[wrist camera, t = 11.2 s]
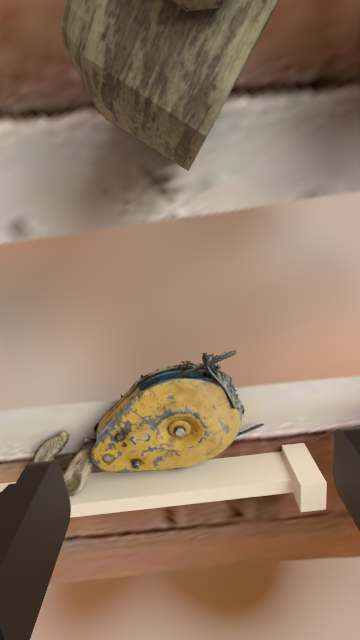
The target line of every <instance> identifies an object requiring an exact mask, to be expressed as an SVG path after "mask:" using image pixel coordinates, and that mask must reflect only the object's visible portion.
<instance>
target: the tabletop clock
mask: <svg viewBox="0 0 360 640" xmlns="http://www.w3.org/2000/svg"><path fill="white" fill-rule="evenodd" d="M278 2H279V0H66V2H65V7H64V12H63V17H62V22H61V29H62V36H63V43H64V46H65V49H66V52H67V55H68V58H69V60H70V61H71V63H72V65H73V67H74V69H75V71H76V72H77V74H78V76H79V78H80V80H81V82H82V83H83V85H84V87H85V89H86V91H87V92H88V94H89V96H90V98H91V100H92V101H93V103H94V105H95V107H96V109H97V110H98V112H99V113H100V114H101V115H103V116H104V117H105V118H106V119H107V120H108V121H110V122H112V123H113V124H115V125H116V126H118V127H120V128H121V129H123V130H124V131H126V132H127V133H129V134H131V135H132V136H134V137H135V138H137V139H139V140H140V141H142V142H143V143H145V144H146V145H148V146H150V147H151V148H153V149H154V150H156V151H158V152H159V153H161V154H162V155H164V156H166V157H167V158H169V159H170V160H172V161H173V162H175V163H177V164H178V165H180V166H181V167H183V168H185V169H186V170H189V169H190V167H191V165H192V163H193V161H194V159H195V158H196V156H197V154H198V152H199V150H200V148H201V146H202V145H203V143H204V141H205V139H206V137H207V135H208V133H209V131H210V130H211V128H212V126H213V124H214V122H215V120H216V118H217V116H218V115H219V113H220V111H221V109H222V107H223V105H224V103H225V101H226V100H227V98H228V96H229V94H230V92H231V90H232V88H233V86H234V85H235V83H236V81H237V79H238V77H239V75H240V73H241V71H242V70H243V68H244V66H245V64H246V62H247V60H248V58H249V56H250V55H251V53H252V51H253V49H254V47H255V45H256V43H257V41H258V39H259V38H260V36H261V34H262V32H263V30H264V28H265V26H266V24H267V23H268V21H269V19H270V17H271V15H272V13H273V11H274V9H275V7H276V5H277V4H278Z"/></svg>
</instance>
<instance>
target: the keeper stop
mask: <svg viewBox="0 0 360 640" xmlns="http://www.w3.org/2000/svg"><path fill="white" fill-rule="evenodd" d="M15 483H16V482H8V483H0V492H1V491H3V490H4V489H5V488H6V487H7V486H8V485H9V484H15ZM326 490H327V483H326V481H325V479H324V477H323V476H322V474H321V472H320V470H319V469H318V467H317V465H316V463H315V462H314V460H313V458H312V457H311V455H310V453H309V451H308V450H307V448H306V446H305V444H304V443H298V444H289V445H282V451H281V452H272V453H263V454H255V455H246V456H237V457H228V458H219V459H211V460H207V461H204V462H202V463H199V464H196V465H193V466H190V467H188V468H185V469H176V470H160V471H144V472H132V473H115V472H106V471H105V472H96V473H91V474H90V477H89V479H88V481H87V483H86V485H85V486H84V488H83V489H82V490H81V491H80V492H78V493H77V494H75V495H73V496H70V497H69V498H70V503H71V515H70V518H71V517H80V516H89V515H98V514H106V513H115V512H124V511H133V510H142V509H151V508H160V507H168V506H177V505H186V504H195V503H204V502H213V501H222V500H231V499H239V498H248V497H257V496H266V495H275V494H284V493H293V495H294V498H295V500H296V502H297V504H298V507H299V509H300V511H301V512H307V511H316V510H325V509H326Z"/></svg>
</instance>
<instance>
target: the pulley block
mask: <svg viewBox="0 0 360 640" xmlns="http://www.w3.org/2000/svg"><path fill="white" fill-rule="evenodd" d="M235 354H236V350H234V351H231V352H224V353H222V354H221V355H220V356H218V355H216V356H215V357H213V354H212V355H207V353H203V356H202V359H203V364H196V365H195V364H193V363H190V361H186V362H184V361H182V363H184V364H182V365H181V364H179V365H175V366H172V367H167V368H165V369H162V370H159V371H158V369H157V371H155V372H152V373H150V374H147V375H145V376H143V375H141V378H140V379H139V380H137V381H136V382H135V384H134V385H133V386H132V388H131V389H130V390H129V391H128V392H127V393H126V394H125V395H124V396H122V395H121V399H120V400H119V401H118V402H117V403H116V404H115V405H114V406H113V407H112V408H111V409H110V410H109V411H108V412H107V413H106V414H105V415H104V416H103V417H102V418H101V420H100V422H99V423H98V424H96V426H95V427H94V429H95V431H96V439H92V438H89V437H88V438H85V439H84V440H83V444H82V447H81V448H80V449H79V451H78V452H77V454H76V455H75V456H74V457H73V458H72V460H71V461H70V462H69V463H68V465H67V468H66V470H65V471H64V470H61V471H62V474H63V478H64V481H65V484H66V488H67V491H68V495H69V497H70V496H73V495H75V494H77V493H78V492H80V491H81V490H82V489H83V488H84V486H85V485H86V483H87V481H88V479H89V477H90V474H91V471H92V468H93V466H94V464H95V465H96V466H97V467H98V468H99V469H101V470H103V471H106V472H115V473H132V472H144V471H160V470H176V469H185V468H188V467H190V466H193V465H196V464H199V463H202V462H204V461H207V460H209V459H211V458H213V457H215V456H217V455H218V454H219V453H221V452H222V451H224V450H225V449H226V448H227V447H228V446H229V445H230V444H231V443H232V442H233V440H234V439H235V438H236V437H237V436H239V435H242V434H245V433H247V432H249V431H252V430H254V429H257V428H259V427H261V426H263V425H264V424H259V425H256V426H254V427H251V428H249V429H247V430H245V431H242V432H240V433H239V431H240V428H241V421H242V413H243V414H244V407H243V405H241V401H240V400H239V399H238V394H236V393H235V391H236V390H235V389H234V385H233V382H232V378H231V377H230V376H228V375H226V374H225V373H224V372H221V371H220V370H219V368H221V367H220V365H217V366H215V364H214V363H217V362H219V361H221V360H223V359H225V358H227V357H230V356H233V355H235ZM242 407H243V410H242ZM68 439H69V434H68V433H67V432H66V431H65V432H61V433H59V434H58V435H56V436H55V437H53V438H51V439H48V440H47V441H45V442H44V443H43V444H42V445H41V446H40V447H39V448H38V449H37V451H36V453H35V455H34V457H33V462H39V461H48V460H54V457H55V456H56V454H57V453H59V452H60V451H61V450H62V449H63V447H64V446H65V445H66V443H67V442H68Z"/></svg>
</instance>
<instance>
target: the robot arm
mask: <svg viewBox="0 0 360 640" xmlns="http://www.w3.org/2000/svg"><path fill="white" fill-rule="evenodd" d="M333 475H334V481H335V485H336V488H337V491H338V493H339V496H340V498H341V499H342V501H343V503H344V505H345V506H346V508H347V510H348V511H349V513H350V515H351V517H352V518H353V520H354V522H355V524H356V525H357V527H358V529H359V531H360V427H353V428H344V429H337V430H336V431H335V434H334V462H333ZM70 515H71V503H70V498H69V495H68V491H67V488H66V484H65V481H64V478H63V474H62V471H61V467H60V464H59V462H58V461H57V460H48V461H39V462H31V463H28V464H27V465H26V467H25V468H24V470H23V472H22V474H21V475H20V477H19V479H18V480H17V482H16V483H15V484H9V485H8V486H7V487H6V488H5V489H4V490H3V491H1V492H0V640H30V637H31V635H32V631H33V628H34V626H35V623H36V620H37V617H38V614H39V611H40V608H41V605H42V602H43V599H44V596H45V593H46V590H47V587H48V584H49V581H50V578H51V576H52V573H53V570H54V567H55V564H56V561H57V558H58V555H59V552H60V549H61V546H62V543H63V540H64V537H65V534H66V531H67V528H68V525H69V521H70Z"/></svg>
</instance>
